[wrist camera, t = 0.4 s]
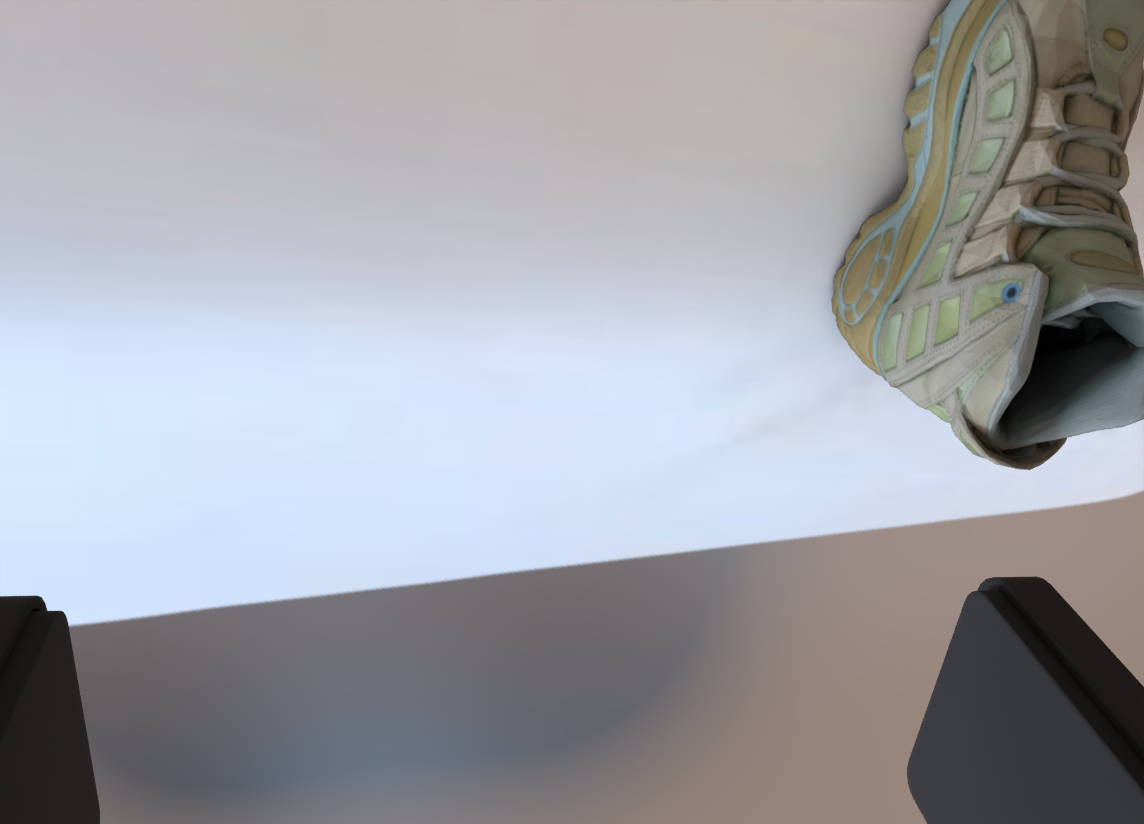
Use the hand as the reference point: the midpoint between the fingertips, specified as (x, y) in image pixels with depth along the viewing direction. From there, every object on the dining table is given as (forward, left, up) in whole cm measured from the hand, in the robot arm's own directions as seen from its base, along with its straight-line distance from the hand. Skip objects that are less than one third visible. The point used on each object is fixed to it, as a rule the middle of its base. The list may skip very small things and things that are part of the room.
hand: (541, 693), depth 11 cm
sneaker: (+3, +24, -35) cm, 42 cm away
